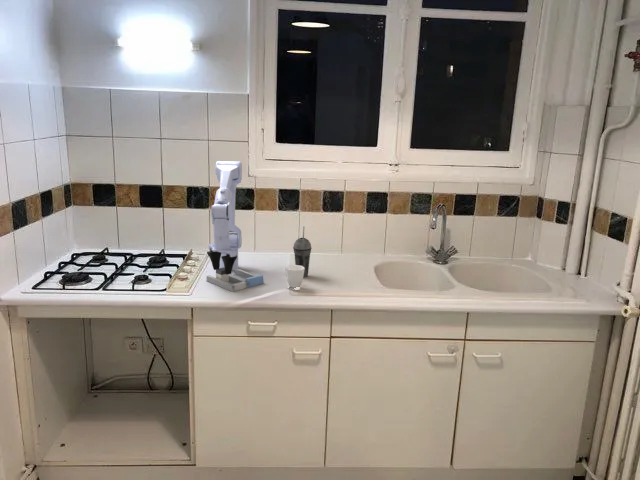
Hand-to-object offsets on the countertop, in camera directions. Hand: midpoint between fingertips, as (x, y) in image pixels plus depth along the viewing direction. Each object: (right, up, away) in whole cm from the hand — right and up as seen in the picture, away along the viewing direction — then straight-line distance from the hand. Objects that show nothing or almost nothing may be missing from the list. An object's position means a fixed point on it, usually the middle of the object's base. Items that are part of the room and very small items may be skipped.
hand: (222, 271), depth 198 cm
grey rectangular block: (0, -4, +1) cm, 4 cm away
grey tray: (+4, -5, +2) cm, 7 cm away
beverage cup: (+29, -3, +14) cm, 32 cm away
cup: (+27, -6, +1) cm, 28 cm away
